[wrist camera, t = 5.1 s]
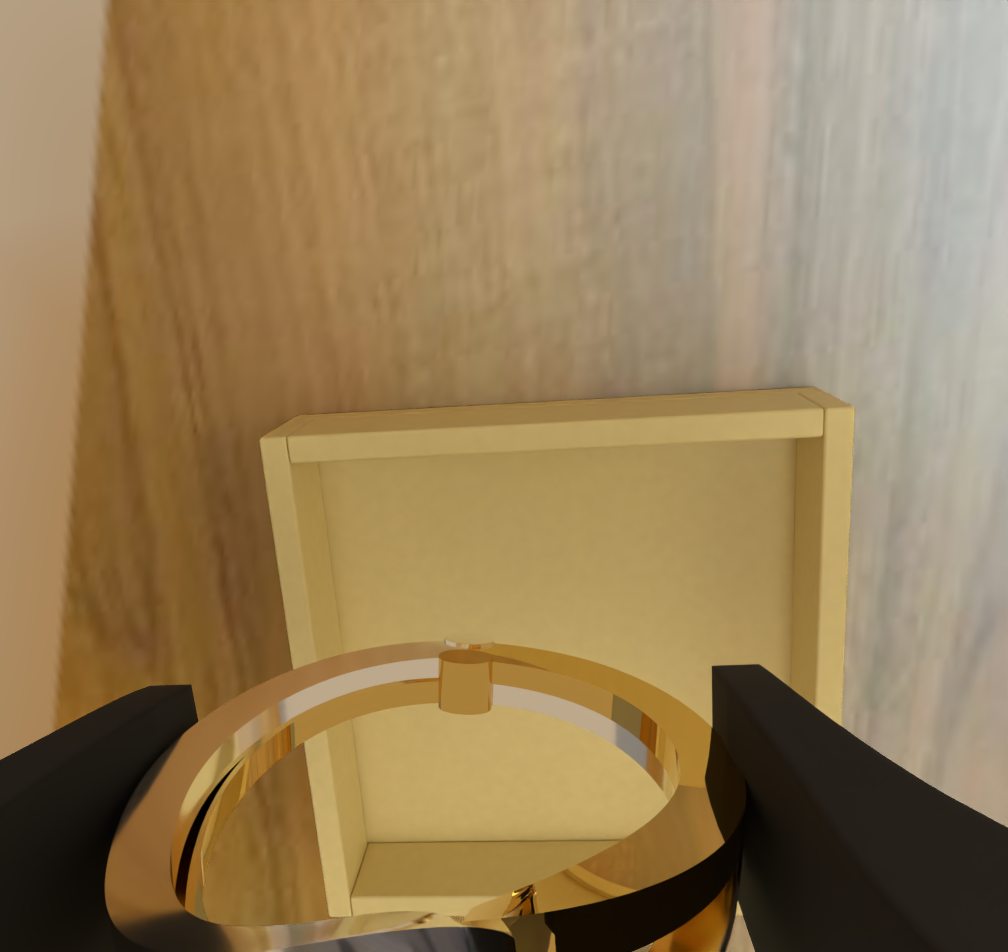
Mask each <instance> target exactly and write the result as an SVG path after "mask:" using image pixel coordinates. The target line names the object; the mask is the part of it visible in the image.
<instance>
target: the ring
mask: <svg viewBox="0 0 1008 952" xmlns="http://www.w3.org/2000/svg"><path fill="white" fill-rule="evenodd" d="M495 642H496V639H495V638H494V637H492V636H489V635H485V634H479V633H454V634H449V635H446V636H445V637H444V641H426V642H412V643H402V644H394V645H386V646H380V647H374V648H368V649H363V650H358V651H354V652H349V653H345V654H341V655H337V656H333V657H330V658H326V659H323V660H320V661H317V662H314V663H311V664H308V665H305V666H302V667H299V668H297V669H294V670H291V671H289V672H286V673H284V674H282V675H279V676H277V677H275V678H272V679H270V680H268V681H266V682H264V683H262V684H260V685H258V686H256V687H254V688H252V689H250V690H248V691H246V692H244V693H242V694H241V695H239V696H237V697H235V698H234V699H232V700H230V701H228V702H227V703H225V704H224V705H222V706H220V707H219V708H217V709H216V710H214V711H213V712H211V713H210V714H208V715H207V716H206V717H204V718H203V719H201V720H200V721H199V722H197V723H196V724H195V725H194V726H192V727H191V728H190V729H189V730H187V731H186V732H185V733H184V734H183V735H182V736H180V737H179V738H178V739H177V740H176V741H175V742H174V743H173V744H172V745H171V746H170V747H169V748H168V749H167V750H166V751H165V752H164V753H163V754H162V755H161V756H160V757H159V758H158V760H157V761H156V762H155V763H154V764H153V765H152V767H151V768H150V769H149V771H148V772H147V773H146V775H145V776H144V777H143V779H142V780H141V782H140V783H139V785H138V786H137V788H136V790H135V791H134V793H133V795H132V797H131V798H130V800H129V802H128V804H127V806H126V808H125V811H124V813H123V815H122V817H121V820H120V822H119V825H118V828H117V830H116V833H115V836H114V839H113V842H112V846H111V849H110V853H109V858H108V862H107V868H106V875H105V899H106V905H107V911H108V917H109V922H110V928H111V933H112V939H113V945H114V950H115V952H632V951H635V950H637V949H639V948H642V947H644V946H646V945H648V944H650V943H652V942H654V943H653V945H652V947H651V948H650V950H649V952H730V950H731V945H732V939H733V933H734V925H735V918H736V910H737V902H738V895H739V887H740V879H741V871H742V839H743V829H744V818H745V807H746V784H745V779H744V777H743V775H742V773H741V772H740V770H739V769H738V767H737V766H736V764H735V762H734V761H733V759H732V758H731V756H730V754H729V753H728V751H727V749H726V747H725V744H724V742H723V740H722V738H721V736H720V735H719V734H718V733H717V732H716V731H715V730H714V729H713V728H712V727H711V726H710V725H709V724H708V723H707V722H706V721H705V720H704V719H703V718H701V717H700V716H699V715H698V714H697V713H695V712H694V711H693V710H691V709H690V708H689V707H687V706H686V705H685V704H683V703H682V702H680V701H679V700H677V699H676V698H674V697H672V696H671V695H669V694H668V693H666V692H664V691H662V690H660V689H659V688H657V687H655V686H653V685H651V684H649V683H647V682H645V681H643V680H641V679H638V678H636V677H634V676H632V675H629V674H627V673H624V672H622V671H619V670H617V669H614V668H611V667H608V666H605V665H602V664H599V663H596V662H593V661H589V660H586V659H582V658H578V657H574V656H570V655H566V654H562V653H557V652H552V651H547V650H541V649H536V648H529V647H523V646H515V645H507V644H497V643H495ZM430 703H438V707H439V708H440V709H441V710H442V711H445V712H448V713H453V714H462V715H477V714H484V713H487V712H489V711H490V710H491V709H492V705H499V706H506V707H513V708H519V709H524V710H529V711H533V712H537V713H541V714H545V715H549V716H552V717H555V718H558V719H561V720H564V721H567V722H570V723H572V724H575V725H577V726H580V727H582V728H584V729H586V730H588V731H590V732H592V733H594V734H596V735H598V736H600V737H602V738H604V739H605V740H607V741H609V742H610V743H612V744H613V745H615V746H616V747H618V748H619V749H621V750H622V751H623V752H625V753H626V754H627V755H629V756H630V757H631V758H632V759H634V760H635V761H636V762H637V763H638V764H639V765H640V766H641V767H642V768H643V769H644V770H645V771H646V772H647V773H648V774H649V775H650V776H651V777H652V778H653V779H654V781H655V782H656V783H657V784H658V786H659V787H660V788H661V790H662V791H663V793H664V794H665V796H666V797H667V799H668V801H669V802H668V803H667V804H666V806H665V807H664V808H663V809H662V810H661V811H660V812H659V813H658V814H657V815H656V816H655V817H654V818H652V819H651V820H650V821H649V822H648V823H646V824H645V825H644V826H642V827H641V828H640V829H638V830H637V831H635V832H634V833H632V834H631V835H629V836H628V837H626V838H625V839H623V840H621V841H620V842H618V843H616V844H615V845H613V846H611V847H609V848H607V849H606V850H604V851H602V852H600V853H598V854H596V855H594V856H592V857H590V858H588V859H586V860H584V861H582V862H580V863H578V864H576V865H574V866H572V867H570V868H567V869H565V870H563V871H561V872H559V873H556V874H554V875H552V876H549V877H547V878H545V879H542V880H540V881H538V882H535V883H533V884H531V885H528V886H526V887H523V888H521V889H518V890H516V891H513V892H511V893H508V894H506V895H503V896H500V897H498V898H495V899H493V900H490V901H487V902H485V903H482V904H479V905H477V906H475V907H473V908H471V909H470V911H469V912H468V914H467V915H466V917H465V918H464V919H463V920H462V923H461V922H459V921H457V920H455V919H453V918H450V917H448V916H445V915H441V914H437V913H431V912H420V911H395V912H382V913H372V914H364V915H357V916H350V917H343V918H337V919H330V920H323V921H316V922H308V923H300V924H291V925H279V926H262V927H243V926H228V925H221V924H215V923H211V922H209V921H208V918H207V916H206V912H205V909H204V905H203V888H204V882H205V876H206V871H207V867H208V863H209V860H210V857H211V854H212V851H213V848H214V845H215V843H216V841H217V838H218V836H219V834H220V832H221V830H222V828H223V826H224V824H225V822H226V821H227V819H228V817H229V816H230V814H231V812H232V811H233V809H234V808H235V806H236V805H237V804H238V802H239V801H240V799H241V798H242V797H243V796H244V794H245V793H246V792H247V791H248V789H249V788H250V787H251V786H252V785H253V784H254V783H255V782H256V781H257V779H258V778H259V777H260V776H261V775H262V774H263V773H264V772H265V771H267V770H268V769H269V768H270V767H271V766H272V765H273V764H274V763H276V762H277V761H278V760H279V759H280V758H282V757H283V756H284V755H286V754H287V753H288V752H290V751H291V750H292V749H294V748H295V747H297V746H298V745H300V744H301V743H303V742H305V741H306V740H308V739H310V738H311V737H313V736H315V735H317V734H319V733H321V732H323V731H325V730H327V729H329V728H331V727H333V726H335V725H338V724H340V723H343V722H345V721H348V720H350V719H353V718H356V717H359V716H362V715H366V714H369V713H373V712H377V711H381V710H386V709H391V708H396V707H402V706H409V705H418V704H430Z"/></svg>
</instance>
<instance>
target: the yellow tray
mask: <svg viewBox="0 0 1008 952" xmlns="http://www.w3.org/2000/svg"><path fill="white" fill-rule="evenodd" d="M854 419H855V408H854V407H853V406H851V405H849V404H847V403H845V402H843V401H842V400H840V399H838V398H836V397H834V396H832V395H830V394H828V393H826V392H824V391H822V390H820V389H818V388H816V387H804V388H785V389H767V390H749V391H731V392H713V393H694V394H676V395H658V396H640V397H622V398H603V399H585V400H567V401H549V402H531V403H513V404H494V405H476V406H458V407H440V408H422V409H403V410H385V411H367V412H349V413H331V414H312V415H298V416H296V417H294V418H293V419H291V420H289V421H288V422H286V423H284V424H283V425H281V426H279V427H278V428H276V429H274V430H273V431H271V432H269V433H268V434H266V435H265V436H263V437H261V438H260V440H259V442H260V449H261V456H262V462H263V469H264V476H265V483H266V490H267V496H268V503H269V510H270V517H271V524H272V530H273V537H274V544H275V551H276V558H277V564H278V571H279V578H280V585H281V592H282V598H283V605H284V612H285V619H286V626H287V632H288V639H289V646H290V653H291V660H292V666H293V670H294V669H297V668H299V667H302V666H305V665H308V664H311V663H314V662H317V661H320V660H323V659H326V658H330V657H333V656H337V655H341V654H345V653H349V652H354V651H358V650H363V649H368V648H374V647H380V646H386V645H394V644H402V643H412V642H426V641H444V637H445V636H446V635H449V634H454V633H479V634H485V635H489V636H492V637H494V638H495V639H496V642H495V643H497V644H507V645H515V646H523V647H529V648H536V649H541V650H547V651H552V652H557V653H562V654H566V655H570V656H574V657H578V658H582V659H586V660H589V661H593V662H596V663H599V664H602V665H605V666H608V667H611V668H614V669H617V670H619V671H622V672H624V673H627V674H629V675H632V676H634V677H636V678H638V679H641V680H643V681H645V682H647V683H649V684H651V685H653V686H655V687H657V688H659V689H660V690H662V691H664V692H666V693H668V694H669V695H671V696H672V697H674V698H676V699H677V700H679V701H680V702H682V703H683V704H685V705H686V706H687V707H689V708H690V709H691V710H693V711H694V712H695V713H697V714H698V715H699V716H700V717H701V718H703V719H704V720H705V721H706V722H707V723H708V724H709V725H710V726H711V727H712V666H718V665H746V664H760V665H761V666H763V667H764V668H765V669H767V670H768V671H770V672H771V673H772V674H774V675H775V676H776V677H777V678H779V679H780V680H781V681H783V682H784V683H785V684H786V685H788V686H789V687H790V688H792V689H793V690H794V691H795V692H797V693H798V694H799V695H801V696H802V697H803V698H804V699H806V700H807V701H808V702H810V703H811V704H812V705H813V706H815V707H816V708H817V709H819V710H820V711H821V712H823V713H824V714H825V715H827V716H828V717H829V718H831V719H832V720H833V721H835V722H836V723H837V724H839V725H840V726H841V722H842V699H843V676H844V652H845V629H846V606H847V582H848V559H849V536H850V513H851V489H852V466H853V443H854ZM304 748H305V755H306V762H307V768H308V775H309V782H310V789H311V796H312V802H313V809H314V816H315V823H316V830H317V836H318V843H319V850H320V857H321V864H322V870H323V877H324V884H325V891H326V898H327V904H328V911H329V916H330V917H350V916H352V914H353V916H357V915H364V914H372V913H382V912H395V911H420V912H431V913H437V914H441V915H445V916H466V915H467V914H468V912H469V911H470V909H471V908H473V907H475V906H477V905H479V904H482V903H485V902H487V901H490V900H493V899H495V898H498V897H500V896H503V895H506V894H508V893H511V892H513V891H516V890H518V889H521V888H523V887H526V886H528V885H531V884H533V883H535V882H538V881H540V880H542V879H545V878H547V877H549V876H552V875H554V874H556V873H559V872H561V871H563V870H565V869H567V868H570V867H572V866H574V865H576V864H578V863H580V862H582V861H584V860H586V859H588V858H590V857H592V856H594V855H596V854H598V853H600V852H602V851H604V850H606V849H607V848H609V847H611V846H613V845H615V844H616V843H618V842H620V841H621V840H623V839H625V838H626V837H628V836H629V835H631V834H632V833H634V832H635V831H637V830H638V829H640V828H641V827H642V826H644V825H645V824H646V823H648V822H649V821H650V820H651V819H652V818H654V817H655V816H656V815H657V814H658V813H659V812H660V811H661V810H662V809H663V808H664V807H665V806H666V804H667V803H668V802H669V801H668V799H667V797H666V796H665V794H664V793H663V791H662V790H661V788H660V787H659V786H658V784H657V783H656V782H655V781H654V779H653V778H652V777H651V776H650V775H649V774H648V773H647V772H646V771H645V770H644V769H643V768H642V767H641V766H640V765H639V764H638V763H637V762H636V761H635V760H634V759H632V758H631V757H630V756H629V755H627V754H626V753H625V752H623V751H622V750H621V749H619V748H618V747H616V746H615V745H613V744H612V743H610V742H609V741H607V740H605V739H604V738H602V737H600V736H598V735H596V734H594V733H592V732H590V731H588V730H586V729H584V728H582V727H580V726H577V725H575V724H572V723H570V722H567V721H564V720H561V719H558V718H555V717H552V716H549V715H545V714H541V713H537V712H533V711H529V710H524V709H519V708H513V707H506V706H499V705H492V709H491V710H490V711H489V712H487V713H484V714H477V715H462V714H453V713H448V712H445V711H442V710H441V709H440V708H439V707H438V703H430V704H418V705H409V706H402V707H396V708H391V709H386V710H381V711H377V712H373V713H369V714H366V715H362V716H359V717H356V718H353V719H350V720H348V721H345V722H343V723H340V724H338V725H335V726H333V727H331V728H329V729H327V730H325V731H323V732H321V733H319V734H317V735H315V736H313V737H311V738H310V739H308V740H306V741H305V742H304ZM736 915H743V914H742V911H741V908H740V905H739V902H737V910H736Z"/></svg>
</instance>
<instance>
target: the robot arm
mask: <svg viewBox="0 0 1008 952" xmlns="http://www.w3.org/2000/svg"><path fill="white" fill-rule="evenodd" d="M197 722H198V718H197V713H196V707H195V702H194V697H193V692H192V686H191V685H165V686H148V687H146V688H143V689H140V690H138V691H135V692H132V693H130V694H128V695H126V696H123V697H121V698H119V699H117V700H115V701H113V702H111V703H109V704H107V705H105V706H103V707H101V708H99V709H97V710H95V711H93V712H91V713H89V714H87V715H85V716H83V717H81V718H79V719H77V720H75V721H74V722H72V723H70V724H68V725H66V726H64V727H62V728H60V729H58V730H56V731H55V732H53V733H51V734H49V735H47V736H45V737H43V738H41V739H39V740H37V741H36V742H34V743H32V744H30V745H28V746H26V747H24V748H22V749H20V750H19V751H17V752H15V753H13V754H11V755H9V756H7V757H5V758H3V759H1V760H0V952H115V950H114V945H113V939H112V933H111V928H110V922H109V917H108V911H107V905H106V899H105V875H106V868H107V862H108V858H109V853H110V849H111V846H112V842H113V839H114V836H115V833H116V830H117V828H118V825H119V822H120V820H121V817H122V815H123V813H124V811H125V808H126V806H127V804H128V802H129V800H130V798H131V797H132V795H133V793H134V791H135V790H136V788H137V786H138V785H139V783H140V782H141V780H142V779H143V777H144V776H145V775H146V773H147V772H148V771H149V769H150V768H151V767H152V765H153V764H154V763H155V762H156V761H157V760H158V758H159V757H160V756H161V755H162V754H163V753H164V752H165V751H166V750H167V749H168V748H169V747H170V746H171V745H172V744H173V743H174V742H175V741H176V740H177V739H178V738H179V737H180V736H182V735H183V734H184V733H185V732H186V731H187V730H189V729H190V728H191V727H192V726H194V725H195V724H196V723H197ZM712 728H713V729H714V730H715V731H716V732H717V733H718V734H719V735H720V736H721V738H722V740H723V742H724V744H725V747H726V749H727V751H728V753H729V754H730V756H731V758H732V759H733V761H734V762H735V764H736V766H737V767H738V769H739V770H740V772H741V773H742V775H743V777H744V779H745V784H746V807H745V818H744V829H743V839H742V871H741V879H740V887H739V895H738V902H739V905H740V908H741V911H742V914H743V917H744V920H745V923H746V926H747V929H748V932H749V935H750V938H751V941H752V944H753V946H754V949H755V952H1008V828H1007V827H1005V826H1003V825H1002V824H1000V823H998V822H996V821H994V820H992V819H990V818H988V817H987V816H985V815H983V814H981V813H979V812H977V811H975V810H974V809H972V808H970V807H968V806H966V805H964V804H962V803H960V802H959V801H957V800H955V799H953V798H951V797H949V796H948V795H946V794H944V793H942V792H941V791H939V790H937V789H936V788H934V787H932V786H930V785H929V784H927V783H925V782H924V781H922V780H921V779H919V778H917V777H916V776H914V775H913V774H911V773H910V772H908V771H907V770H905V769H903V768H902V767H900V766H899V765H897V764H896V763H894V762H892V761H891V760H889V759H888V758H886V757H885V756H883V755H882V754H880V753H879V752H877V751H876V750H874V749H873V748H871V747H870V746H868V745H867V744H865V743H864V742H863V741H861V740H860V739H858V738H857V737H855V736H854V735H853V734H851V733H850V732H848V731H847V730H846V729H844V728H843V727H842V726H840V725H839V724H837V723H836V722H835V721H833V720H832V719H831V718H829V717H828V716H827V715H825V714H824V713H823V712H821V711H820V710H819V709H817V708H816V707H815V706H813V705H812V704H811V703H810V702H808V701H807V700H806V699H804V698H803V697H802V696H801V695H799V694H798V693H797V692H795V691H794V690H793V689H792V688H790V687H789V686H788V685H786V684H785V683H784V682H783V681H781V680H780V679H779V678H777V677H776V676H775V675H774V674H772V673H771V672H770V671H768V670H767V669H765V668H764V667H763V666H761V665H760V664H746V665H718V666H712Z"/></svg>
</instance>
